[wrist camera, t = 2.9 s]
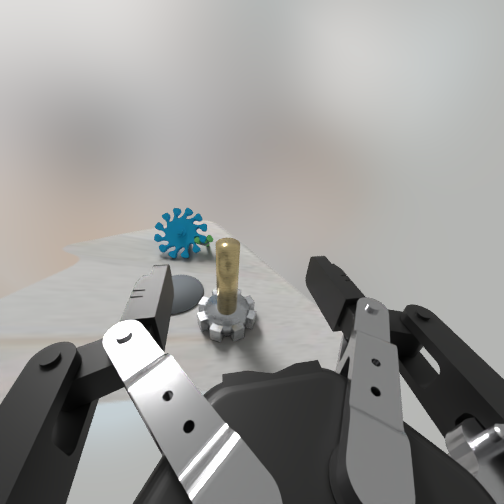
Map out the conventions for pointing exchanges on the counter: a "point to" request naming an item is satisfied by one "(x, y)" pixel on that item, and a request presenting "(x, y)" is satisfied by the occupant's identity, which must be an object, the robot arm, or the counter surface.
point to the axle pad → (185, 293)
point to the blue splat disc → (182, 233)
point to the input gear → (226, 297)
